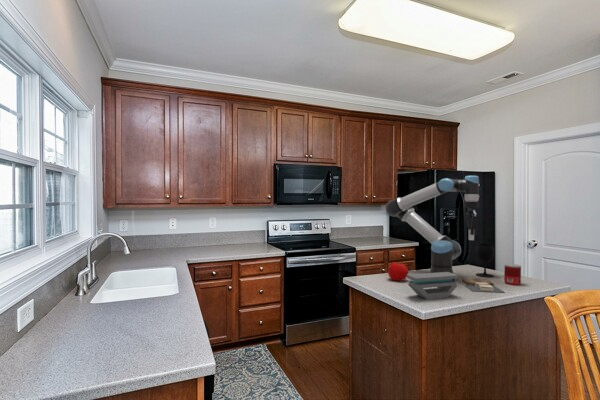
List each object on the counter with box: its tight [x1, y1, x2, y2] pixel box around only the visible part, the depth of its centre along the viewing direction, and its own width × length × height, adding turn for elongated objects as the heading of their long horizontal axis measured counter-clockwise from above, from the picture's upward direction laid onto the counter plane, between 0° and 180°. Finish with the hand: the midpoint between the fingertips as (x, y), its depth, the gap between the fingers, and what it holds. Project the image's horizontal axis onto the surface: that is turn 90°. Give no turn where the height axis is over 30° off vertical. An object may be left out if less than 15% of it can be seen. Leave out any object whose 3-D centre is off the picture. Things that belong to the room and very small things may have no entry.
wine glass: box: [475, 243, 496, 279], centre depth 207 cm, size 10×10×20 cm
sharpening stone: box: [406, 272, 460, 301], centre depth 163 cm, size 25×8×11 cm, turn 105°
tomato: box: [388, 261, 409, 282], centre depth 195 cm, size 12×12×11 cm
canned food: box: [504, 263, 522, 286], centre depth 188 cm, size 8×8×11 cm
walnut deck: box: [460, 277, 495, 286], centre depth 187 cm, size 14×10×2 cm
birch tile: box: [475, 282, 494, 291], centre depth 177 cm, size 9×6×2 cm, turn 171°
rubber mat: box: [464, 284, 506, 294], centre depth 176 cm, size 16×11×1 cm
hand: (471, 239), depth 196 cm, fingers closed
